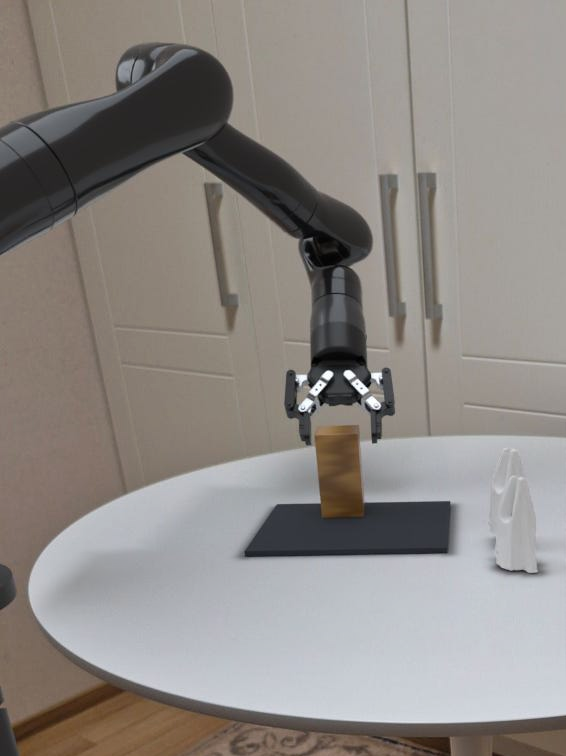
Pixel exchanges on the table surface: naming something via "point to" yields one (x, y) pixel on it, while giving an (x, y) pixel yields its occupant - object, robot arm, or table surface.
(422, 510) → the rubber mat
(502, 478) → the shaker set
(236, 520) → the table surface
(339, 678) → the table surface
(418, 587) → the table surface
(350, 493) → the oak block
